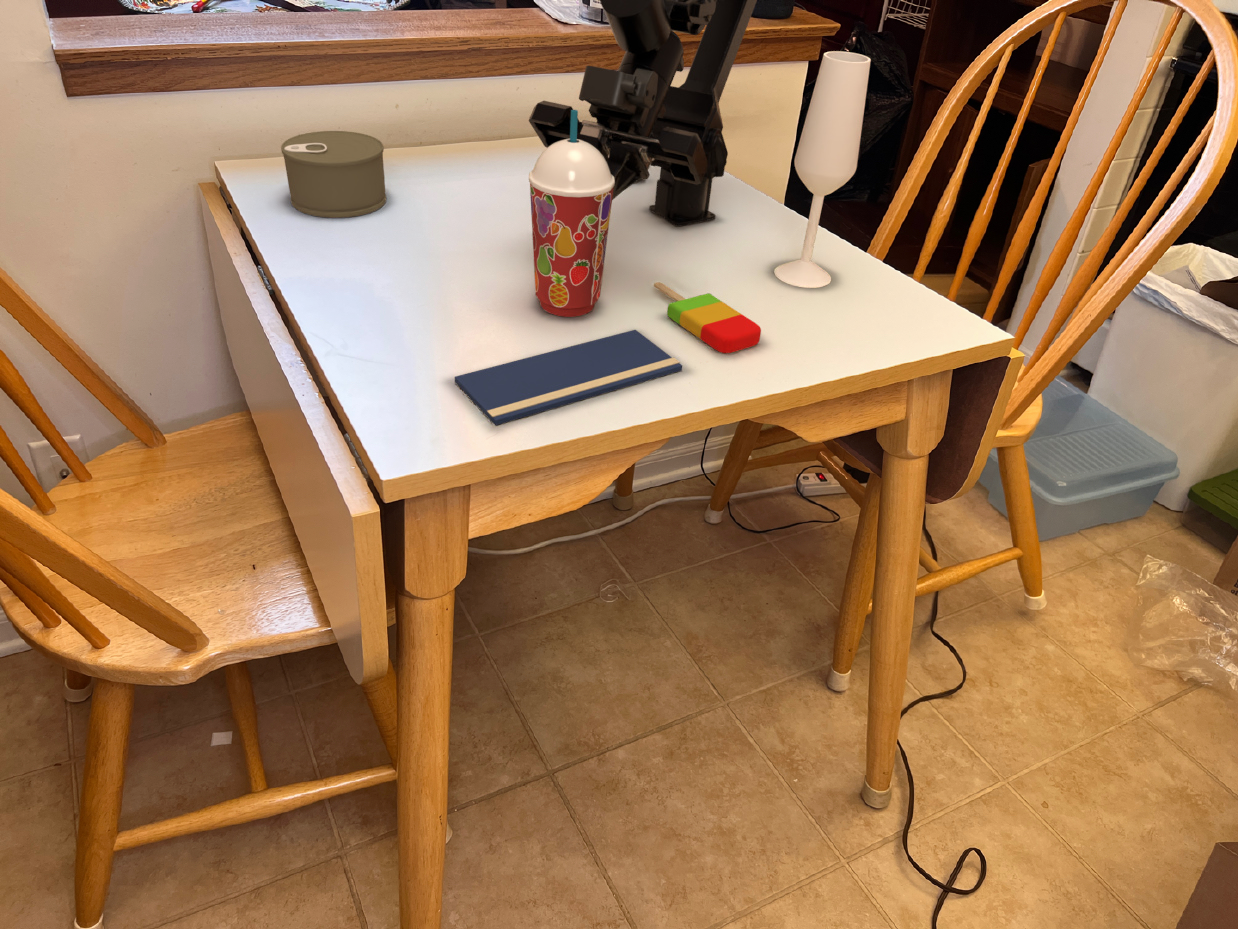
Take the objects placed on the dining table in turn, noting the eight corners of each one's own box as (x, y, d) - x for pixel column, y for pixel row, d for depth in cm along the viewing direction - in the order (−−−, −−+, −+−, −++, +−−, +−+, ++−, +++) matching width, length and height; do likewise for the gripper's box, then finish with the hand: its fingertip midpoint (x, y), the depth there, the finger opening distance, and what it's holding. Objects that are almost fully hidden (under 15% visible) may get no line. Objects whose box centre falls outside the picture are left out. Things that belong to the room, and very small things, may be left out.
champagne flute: (796, 258, 111) (838, 46, 96) (842, 277, 107) (893, 60, 93) (762, 272, 107) (800, 53, 92) (809, 293, 103) (856, 68, 89)
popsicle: (722, 357, 90) (725, 340, 89) (635, 295, 99) (636, 280, 98) (764, 344, 93) (767, 328, 91) (675, 285, 102) (676, 270, 101)
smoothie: (621, 303, 98) (636, 110, 86) (577, 332, 92) (586, 130, 80) (558, 280, 101) (563, 92, 89) (511, 307, 95) (510, 110, 83)
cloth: (634, 334, 92) (635, 328, 92) (682, 370, 87) (682, 364, 87) (454, 382, 83) (454, 375, 82) (495, 426, 78) (495, 419, 77)
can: (394, 215, 113) (389, 159, 109) (292, 221, 109) (284, 164, 105) (380, 181, 122) (376, 128, 118) (286, 186, 118) (278, 132, 114)
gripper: (539, 16, 91) (480, 154, 90) (712, 47, 85) (652, 196, 84) (573, 83, 102) (521, 208, 100) (729, 115, 96) (676, 249, 94)
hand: (588, 214), depth 94 cm, fingers closed
